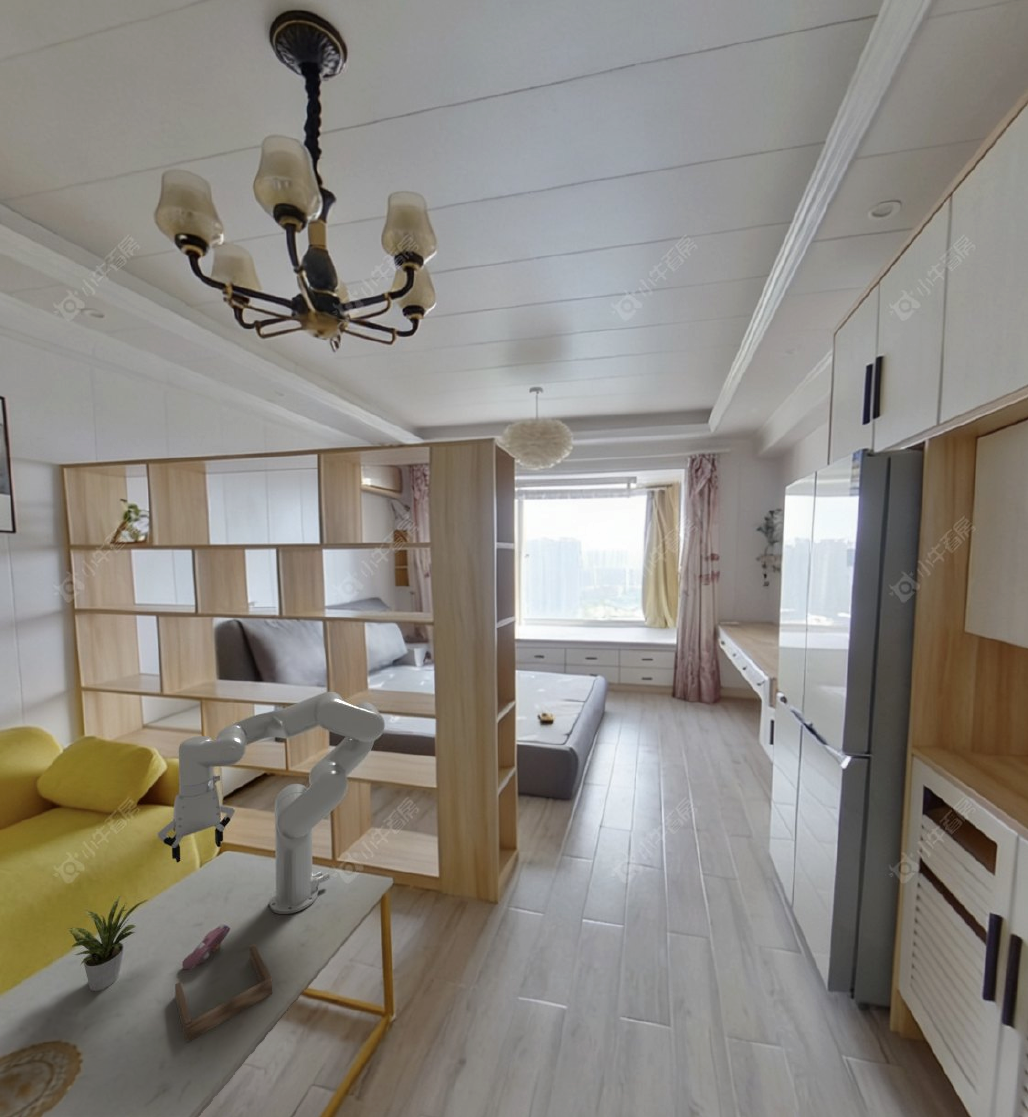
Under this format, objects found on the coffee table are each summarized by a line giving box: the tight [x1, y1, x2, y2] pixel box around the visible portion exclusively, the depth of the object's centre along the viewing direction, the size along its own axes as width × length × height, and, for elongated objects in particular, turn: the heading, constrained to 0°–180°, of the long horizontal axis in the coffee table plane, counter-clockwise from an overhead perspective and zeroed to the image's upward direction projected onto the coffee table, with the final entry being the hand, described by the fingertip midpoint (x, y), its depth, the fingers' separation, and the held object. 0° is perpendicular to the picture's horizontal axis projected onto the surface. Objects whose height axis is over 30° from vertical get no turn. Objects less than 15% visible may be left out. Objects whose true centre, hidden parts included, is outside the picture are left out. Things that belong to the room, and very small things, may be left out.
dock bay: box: [174, 944, 273, 1043], centre depth 108 cm, size 16×14×3 cm
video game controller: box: [181, 923, 231, 970], centre depth 119 cm, size 10×5×7 cm, turn 169°
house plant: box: [67, 894, 148, 992], centre depth 113 cm, size 14×14×16 cm
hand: (198, 852), depth 127 cm, fingers open, 8 cm apart
